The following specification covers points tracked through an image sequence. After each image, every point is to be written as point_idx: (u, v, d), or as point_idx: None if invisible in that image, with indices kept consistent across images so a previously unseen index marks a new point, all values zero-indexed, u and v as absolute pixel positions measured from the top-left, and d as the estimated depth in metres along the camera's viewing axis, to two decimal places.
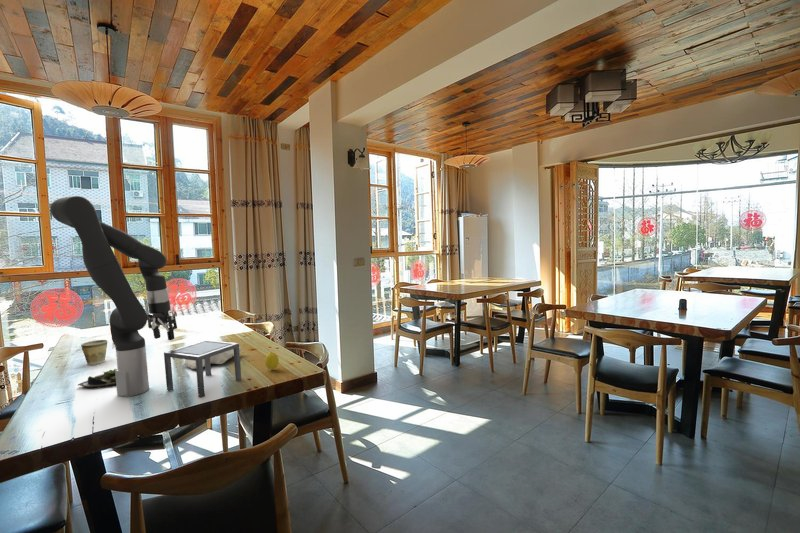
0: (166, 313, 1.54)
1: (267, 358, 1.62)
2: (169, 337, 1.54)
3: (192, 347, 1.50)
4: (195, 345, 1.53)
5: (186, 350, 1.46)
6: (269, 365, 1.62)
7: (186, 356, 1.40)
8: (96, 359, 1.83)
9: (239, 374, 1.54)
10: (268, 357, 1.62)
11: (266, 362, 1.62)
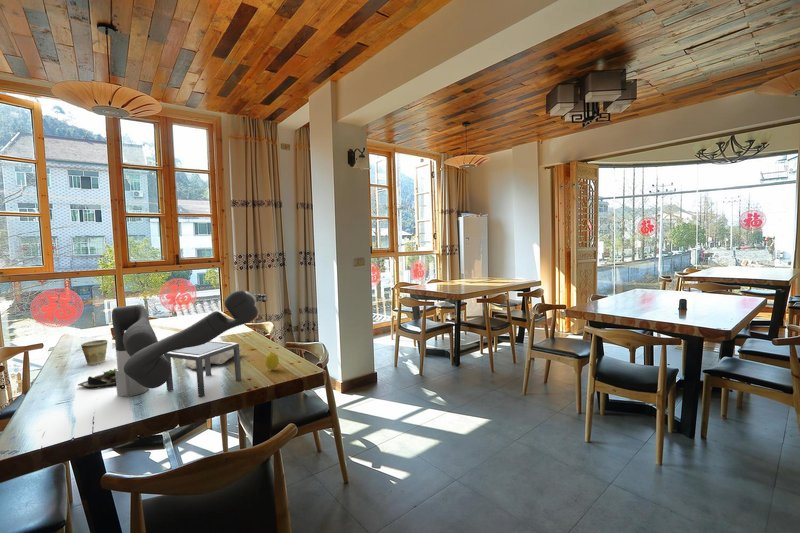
0: (256, 299, 1.41)
1: (267, 358, 1.62)
2: None
3: (192, 347, 1.50)
4: None
5: (186, 350, 1.46)
6: (269, 365, 1.62)
7: (186, 356, 1.40)
8: (96, 359, 1.83)
9: (239, 374, 1.54)
10: (268, 357, 1.62)
11: (266, 362, 1.62)
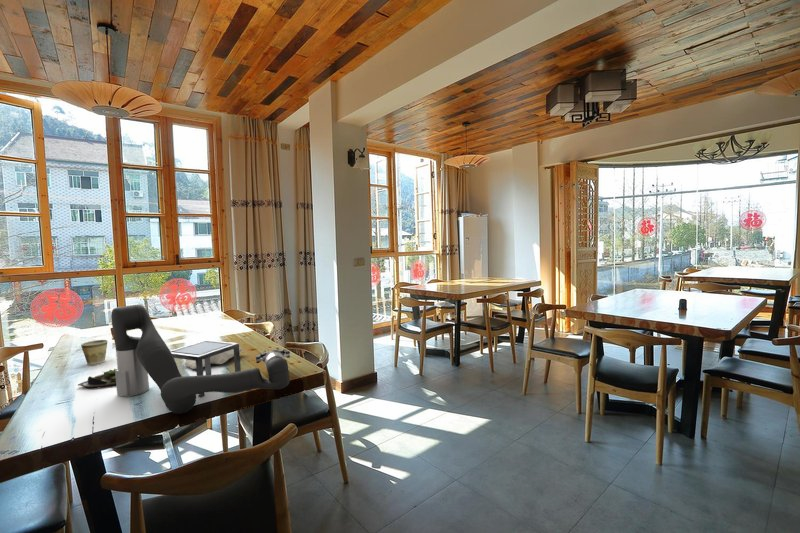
0: (283, 356, 1.58)
1: None
2: None
3: (192, 347, 1.50)
4: (195, 345, 1.53)
5: (186, 350, 1.46)
6: None
7: (186, 356, 1.40)
8: (96, 359, 1.83)
9: None
10: None
11: None
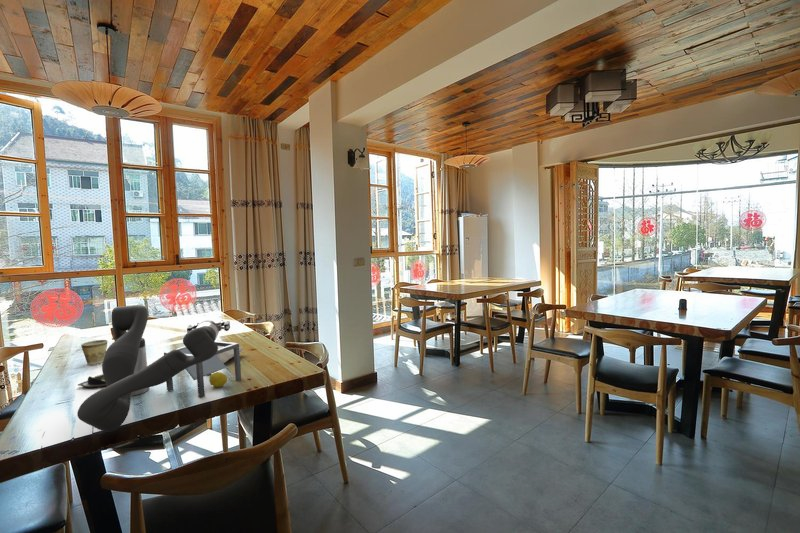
0: (219, 328, 1.41)
1: (216, 381, 1.45)
2: None
3: None
4: None
5: None
6: (210, 383, 1.46)
7: None
8: (96, 359, 1.83)
9: (239, 374, 1.54)
10: (217, 382, 1.45)
11: (212, 381, 1.45)
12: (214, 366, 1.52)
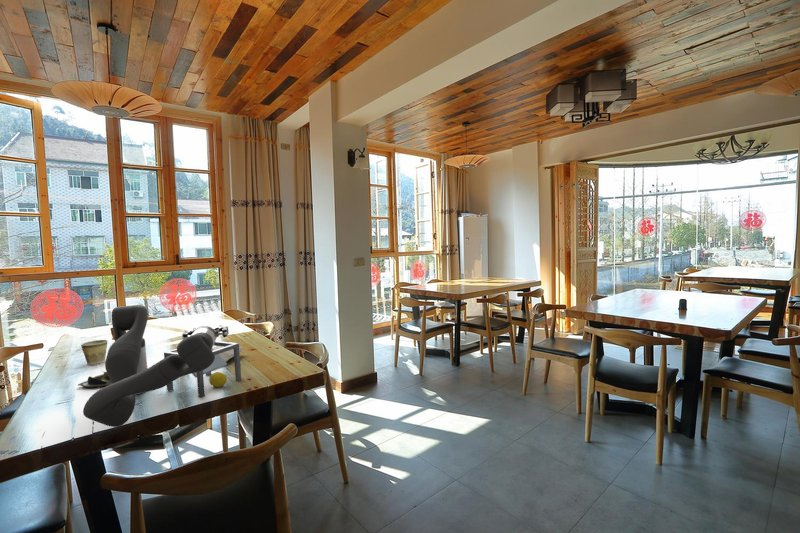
0: (216, 335, 1.31)
1: (216, 381, 1.45)
2: None
3: None
4: None
5: None
6: (210, 383, 1.46)
7: None
8: (96, 359, 1.83)
9: (239, 374, 1.54)
10: (217, 382, 1.45)
11: (212, 381, 1.45)
12: (215, 364, 1.51)
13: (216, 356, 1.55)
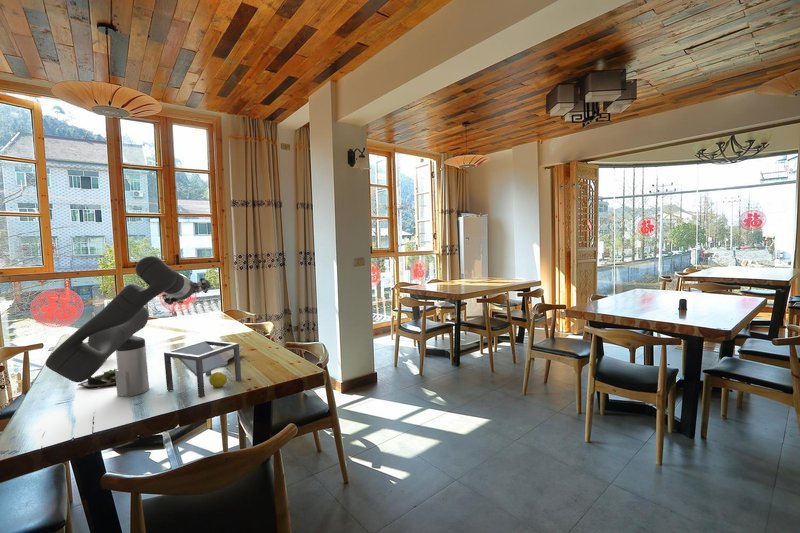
0: (194, 284, 1.29)
1: (216, 381, 1.45)
2: (206, 291, 1.38)
3: (192, 351, 1.50)
4: (195, 347, 1.53)
5: None
6: (210, 383, 1.46)
7: (186, 356, 1.40)
8: None
9: (239, 374, 1.54)
10: (217, 382, 1.45)
11: (212, 381, 1.45)
12: (216, 362, 1.51)
13: (216, 355, 1.55)
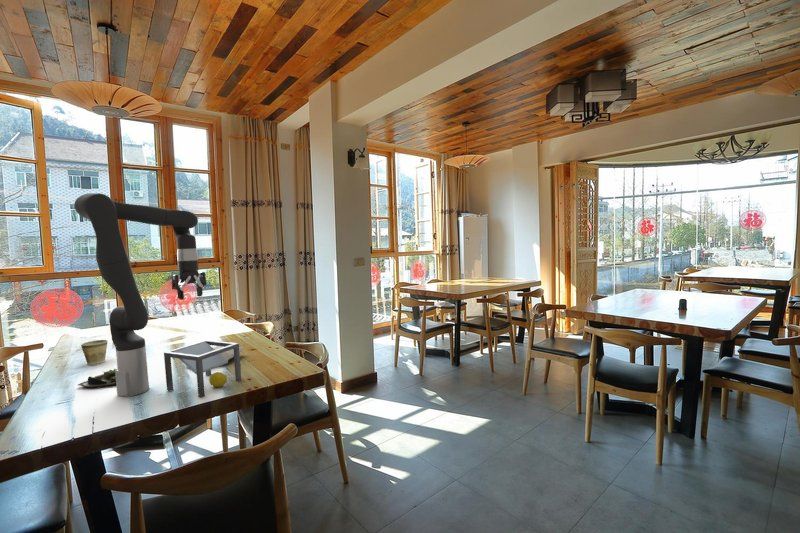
0: None
1: (216, 381, 1.45)
2: (201, 293, 1.65)
3: (192, 350, 1.50)
4: (195, 346, 1.53)
5: None
6: (210, 383, 1.46)
7: (186, 356, 1.40)
8: (96, 359, 1.83)
9: (239, 374, 1.54)
10: (217, 382, 1.45)
11: (212, 381, 1.45)
12: (216, 361, 1.51)
13: (217, 354, 1.54)
